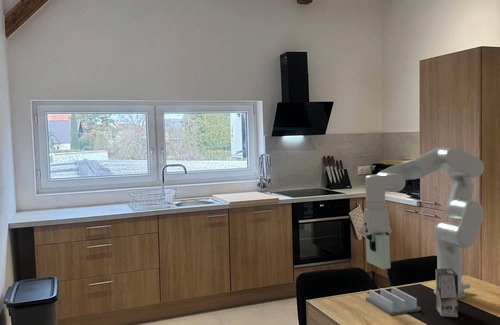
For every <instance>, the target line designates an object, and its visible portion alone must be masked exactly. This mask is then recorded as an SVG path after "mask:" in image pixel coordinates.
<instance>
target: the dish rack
mask: <svg viewBox="0 0 500 325" xmlns="http://www.w3.org/2000/svg"><path fill="white" fill-rule="evenodd" d="M390 289H391V290H390V291H388V290H386V289H385V288H380V289H379V290H380V291H379V292H380V294H379V293H378V292H376V291H374V290H372V289H369V290H368V293H369V294H368V297H365V301H366V302H368V303H369V304H371V305H373V306H375V307H376V308H378V309H379V310H381V311H383V312H384V313H385V314H387V315H389V316H396V314H397V315H401V313H403V314H407V313H408V312H409V313H414V312H420V311H422V308H421V307H420V306H418V304H417V303H418V298H415V297H414V296H412V295H410V294H408V293H407V292H404V291H403V290H400V289H399V288H396V287H394V286H390Z"/></svg>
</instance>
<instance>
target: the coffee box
mask: <svg viewBox="0 0 500 325" xmlns="http://www.w3.org/2000/svg"><path fill="white" fill-rule="evenodd" d="M435 288H436V294H435V299H436V301H435V307H436V311H437V312H438V313H439V315H440V316H441V317H449V318H458V317H459V299H458V275H457V274H456V273H455V272H454V271H453V270H452V269H437V268H435Z"/></svg>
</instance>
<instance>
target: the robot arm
mask: <svg viewBox="0 0 500 325" xmlns="http://www.w3.org/2000/svg"><path fill="white" fill-rule="evenodd" d="M443 168H445V170H446V172H447V174H448V176H449V177H450V180H451V189H450V193H449V196H448V200H447V202H446V205H445V216H446V217H448V218H449V219H451V220H454V221H458V222H460V223H457V222H452V221H442V222H439V223H437V224H436V226H435V227H434V238H435V242H436V243H435V244H436V253H437V255H436V256H437V258H436V261H437V264H436V266H437V268H436V269H452V270H453V271H454V272H455V273H456V274H457V275H458V300H460V299H463V298H466V292H465V291H464V290H467V289H471V288H472V286H471V284H470V283H465V284H464V283H463V282H462V251H461V249H470V248H472V247H473V245H474V244H475V242H476V240H477V237H478V235H479V232H480V229H481V226H482V222H483V218H484V209H483V208H484V207H483V206H482V204H481V203H480V202H478V201H477V200H473V199H472V197H473V193H474V185H473V181H472V179H473V178H478V177H480V176H481V175H483V172H484V170H485V166H484V162H483V161H482V160H481V158H479V157H476V156H475V155H472V154H470V153H468V152H465V151H463V150H462V149H459V148H456V147H436V148H433V149H432V150H430V151H427V152H426V153H423V154H421V155H419V156H417V157H415V158H413V159H410V160H406V161H404V162H401V163H397V164H394V165H391V166H389V167H387V168H385V169H382V170H380V171H379V172H378V173H377V174H368V175H366V176H365V181H364V182H365V183H364V185H365V203H366V204H365V205H366V206H365V207H366V208H364V211H363V218H362V232H361V236H362V237H365V239H366V238H367V239H368V240H369V241H370V249H371V250H372V251H376V243H375V241H374V238H375V234H378V233H383V234H386V235H389V236H390V235H391V233H393V229H392V228H391V226H390V225H391V223H390V222H391V221H390V216H389V211H388V207H386V206H387V205H388V204H389V203H388V201H387V200H386V193H387V192H388V193H389V192H393V193H398V192H401V191H403V189H404V188H405V186H406V181H408V180H417V179H422V178H425V177H427V176H429V175H430V174H432V173H434V172H437V171H438V170H441V169H443ZM367 232H368V233H369V234H367ZM433 293H434V295H436V287H435V288H434V289H433Z"/></svg>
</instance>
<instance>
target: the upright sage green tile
mask: <svg viewBox="0 0 500 325" xmlns="http://www.w3.org/2000/svg"><path fill="white" fill-rule="evenodd" d="M367 234H369V233H368V232H367ZM374 241H375V243H376V251H372V250H371V249H370V241H369V240H368V239H367V238H366V237H365V249H366V250H365V251H366V252H365V253H366V254H365V255H366V257H365V258H366V262H367V263H369V264H371V265H373V266H375V267H377V268H379V269H382V270H385V269H386V270H387V269H392V268H391V247H390V246H391V245H390V244H391V243H390V242H391V241H390V234H389V235H386V234H383V233H378V234H375V238H374Z"/></svg>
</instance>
